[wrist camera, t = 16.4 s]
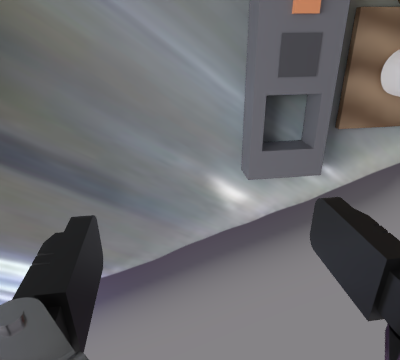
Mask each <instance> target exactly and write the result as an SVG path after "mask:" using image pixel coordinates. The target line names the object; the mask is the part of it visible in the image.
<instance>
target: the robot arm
mask: <svg viewBox="0 0 400 360" xmlns="http://www.w3.org/2000/svg"><path fill="white" fill-rule="evenodd" d="M310 241H311V245H312V247H313V250H314V251H315V252H316V254H317V255H318V256H319V257H320V259H321V260H322V262H323V263H324V264H325V265H326V267H327V268H328V269H329V271H330V272H331V273H332V275H333V276H334V277H335V278H336V280H337V281H338V282H339V284H340V285H341V286H342V288H343V289H344V290H345V292H346V293H347V294H348V296H349V297H350V298H351V299H352V301H353V302H354V303H355V305H356V306H357V307H358V309H359V310H360V311H361V312H362V314H363V315H364V317H365V318H366V319H367V320H368V321H372V320H380V319H385V320H386V321H387V323H388V324H387V327H386V330H385V360H400V241H399V240H398V239H397V238H396V237H394V236H393V235H392V234H391V233H388V231H387V230H386V229H384V228H383V227H382V226H379V224H378V223H377V222H376V221H375V220H373V219H372V218H371V217H370V216H368V215H366V214H364V213H362V212H360V211H358V210H356V209H354V208H352V207H351V206H350V205H349V204H348V203H346V202H345V201H344V200H343V199H342V198H340V197H332V198H319V199H318V200H317V201H316V203H315V208H314V213H313V219H312V225H311V231H310ZM102 270H103V252H102V246H101V240H100V235H99V229H98V224H97V219H96V217H95V216H94V215H92V216H79V217H71V219H70V221H69V223H68V225H67V227H66V229H65V231H64V232H61V233H55V234H54V235H52V236H51V237H50V238H49V239H48V240H46V241H45V242H44V243H43V245H42V247H41V248H40V250H39V252H38V254H37V256H36V257H35V259H34V261H33V263H32V266H30V268H29V270H28V272H27V274H26V276H25V277H24V279H23V281H22V283H21V285H20V286H19V288H18V290H17V292H16V294H15V295H14V297H13V299H12V300H11V301H8V302H6V303H4V304H2V305H0V360H88V358H87V357H86V355H85V354H84V353H83V352H84V349H85V344H86V340H87V336H88V331H89V327H90V322H91V318H92V314H93V309H94V305H95V301H96V296H97V292H98V288H99V283H100V279H101V275H102Z"/></svg>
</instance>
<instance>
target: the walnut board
mask: <svg viewBox="0 0 400 360" xmlns="http://www.w3.org/2000/svg"><path fill="white" fill-rule="evenodd" d="M398 50H400V7H358V8H356V14H355V20H354V25H353V31H352V36H351V42H350V48H349V53H348V59H347V64H346V70H345V75H344V81H343V87H342V92H341V98H340V103H339V109H338V115H337V120H336V126H335V127H336V128H338V129H349V128H369V127H390V126H400V97H398V96H394V95H391V94H389V93H387V92H386V91H385V90H384V89H383V87H382V84H381V72H382V68H383V66H384V64H385V62H386V61H387V60H388V58H389V57H390V56H391V55H392V54H393V53H395V52H396V51H398Z"/></svg>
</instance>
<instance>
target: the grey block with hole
mask: <svg viewBox="0 0 400 360" xmlns="http://www.w3.org/2000/svg"><path fill="white" fill-rule="evenodd" d="M349 4H350V0H250V4H249V24H248V44H247V64H246V84H245V104H244V124H243V144H242V164H241V170H242V171H243V173H244V174H245V176H246V177H247V178H248V180H253V179H268V178H283V177H298V176H312V175H321V169H322V163H323V157H324V151H325V145H326V140H327V134H328V128H329V122H330V116H331V110H332V104H333V98H334V92H335V87H336V81H337V75H338V69H339V63H340V57H341V51H342V45H343V39H344V33H345V28H346V22H347V16H348V10H349ZM294 94H308V95H307V103H306V110H305V118H304V125H303V132H302V140H298V141H280V142H263V133H264V120H265V107H266V95H294Z"/></svg>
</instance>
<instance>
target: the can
mask: <svg viewBox="0 0 400 360" xmlns="http://www.w3.org/2000/svg"><path fill="white" fill-rule="evenodd" d="M381 84H382V87H383V89H384V90H385V91H386V92H387V93H389V94H391V95H394V96H398V97H400V50H398V51H396V52H395V53H393V54H392V55H391V56H390V57H389V58H388V60H387V61H386V62H385V64H384V66H383V68H382V72H381Z"/></svg>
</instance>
